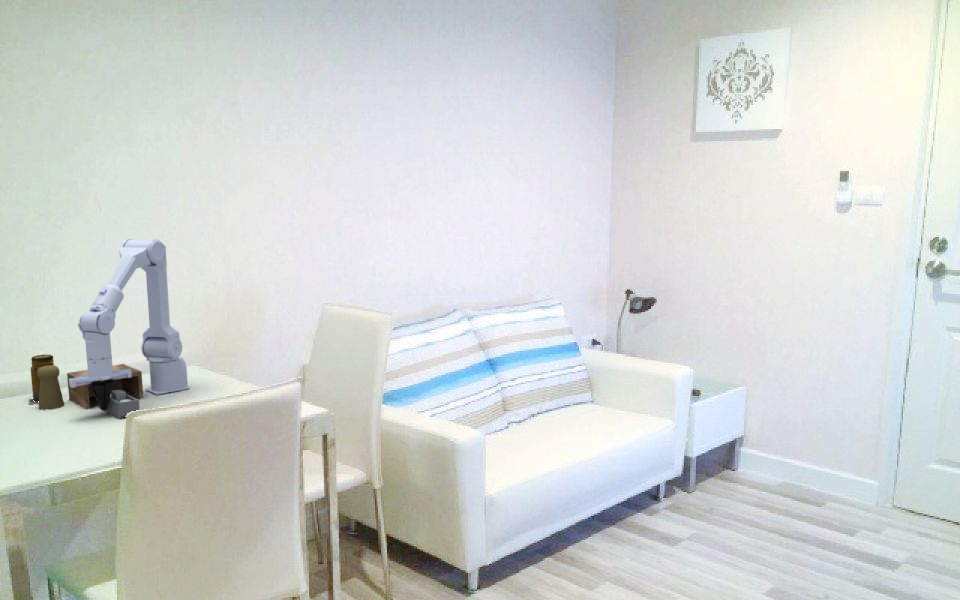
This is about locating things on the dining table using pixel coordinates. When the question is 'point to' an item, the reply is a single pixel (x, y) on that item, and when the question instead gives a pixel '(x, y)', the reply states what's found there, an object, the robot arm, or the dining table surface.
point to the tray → (121, 404)
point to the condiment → (36, 364)
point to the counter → (125, 384)
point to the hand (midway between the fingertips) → (103, 409)
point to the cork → (49, 388)
